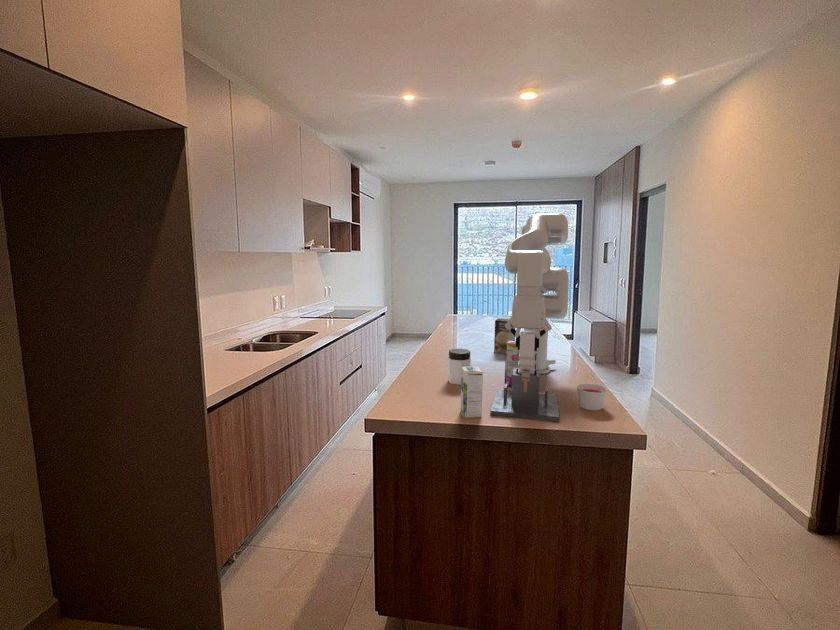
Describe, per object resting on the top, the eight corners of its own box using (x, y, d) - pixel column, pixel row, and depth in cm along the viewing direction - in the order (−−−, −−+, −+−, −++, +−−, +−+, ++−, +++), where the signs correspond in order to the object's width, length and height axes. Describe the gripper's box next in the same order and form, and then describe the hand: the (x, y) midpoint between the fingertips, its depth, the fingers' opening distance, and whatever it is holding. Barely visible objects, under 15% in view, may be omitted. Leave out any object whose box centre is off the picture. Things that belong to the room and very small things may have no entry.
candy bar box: (504, 386, 159) (505, 342, 157) (506, 382, 164) (507, 340, 162) (535, 389, 156) (537, 345, 153) (536, 385, 160) (538, 342, 158)
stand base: (556, 399, 146) (558, 362, 144) (559, 421, 127) (561, 380, 125) (496, 394, 151) (497, 358, 149) (490, 415, 132) (491, 375, 130)
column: (533, 397, 140) (536, 331, 137) (533, 403, 135) (535, 334, 132) (517, 396, 141) (519, 330, 138) (516, 401, 137) (519, 333, 133)
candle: (576, 400, 144) (577, 382, 143) (605, 404, 141) (606, 385, 140) (575, 410, 136) (576, 390, 135) (606, 413, 133) (607, 394, 132)
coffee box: (493, 352, 210) (494, 320, 207) (496, 350, 215) (497, 318, 213) (512, 354, 206) (513, 321, 203) (515, 351, 212) (516, 319, 209)
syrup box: (459, 411, 135) (460, 366, 133) (478, 410, 136) (479, 365, 134) (463, 418, 130) (463, 371, 127) (482, 417, 130) (483, 371, 128)
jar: (456, 386, 159) (456, 354, 157) (443, 380, 166) (443, 350, 164) (475, 382, 164) (475, 351, 162) (461, 377, 171) (462, 347, 169)
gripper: (557, 291, 134) (554, 348, 137) (502, 290, 139) (501, 345, 142) (558, 293, 127) (555, 354, 130) (500, 292, 132) (498, 350, 135)
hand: (527, 349), depth 136 cm, fingers closed on column, 4 cm apart
